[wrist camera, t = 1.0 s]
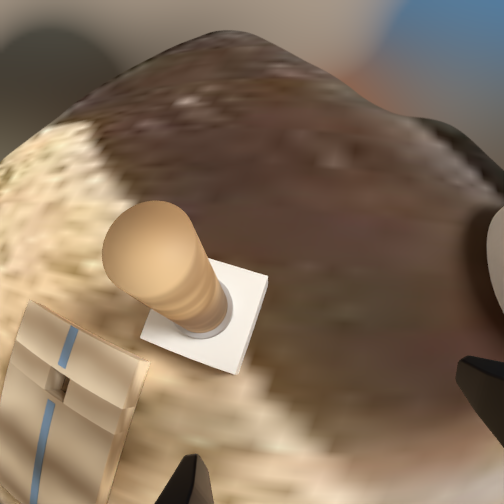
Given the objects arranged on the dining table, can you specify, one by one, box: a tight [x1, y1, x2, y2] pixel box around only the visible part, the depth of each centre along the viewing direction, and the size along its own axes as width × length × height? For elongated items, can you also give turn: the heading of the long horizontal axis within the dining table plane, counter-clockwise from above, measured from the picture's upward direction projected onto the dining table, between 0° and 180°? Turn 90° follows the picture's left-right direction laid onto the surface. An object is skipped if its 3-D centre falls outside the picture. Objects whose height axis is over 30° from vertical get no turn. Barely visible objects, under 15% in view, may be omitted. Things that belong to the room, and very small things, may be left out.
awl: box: [102, 201, 233, 339], centre depth 16 cm, size 4×4×13 cm
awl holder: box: [140, 258, 268, 375], centre depth 21 cm, size 7×7×2 cm
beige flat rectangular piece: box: [0, 300, 151, 504], centre depth 17 cm, size 20×12×3 cm, turn 162°
